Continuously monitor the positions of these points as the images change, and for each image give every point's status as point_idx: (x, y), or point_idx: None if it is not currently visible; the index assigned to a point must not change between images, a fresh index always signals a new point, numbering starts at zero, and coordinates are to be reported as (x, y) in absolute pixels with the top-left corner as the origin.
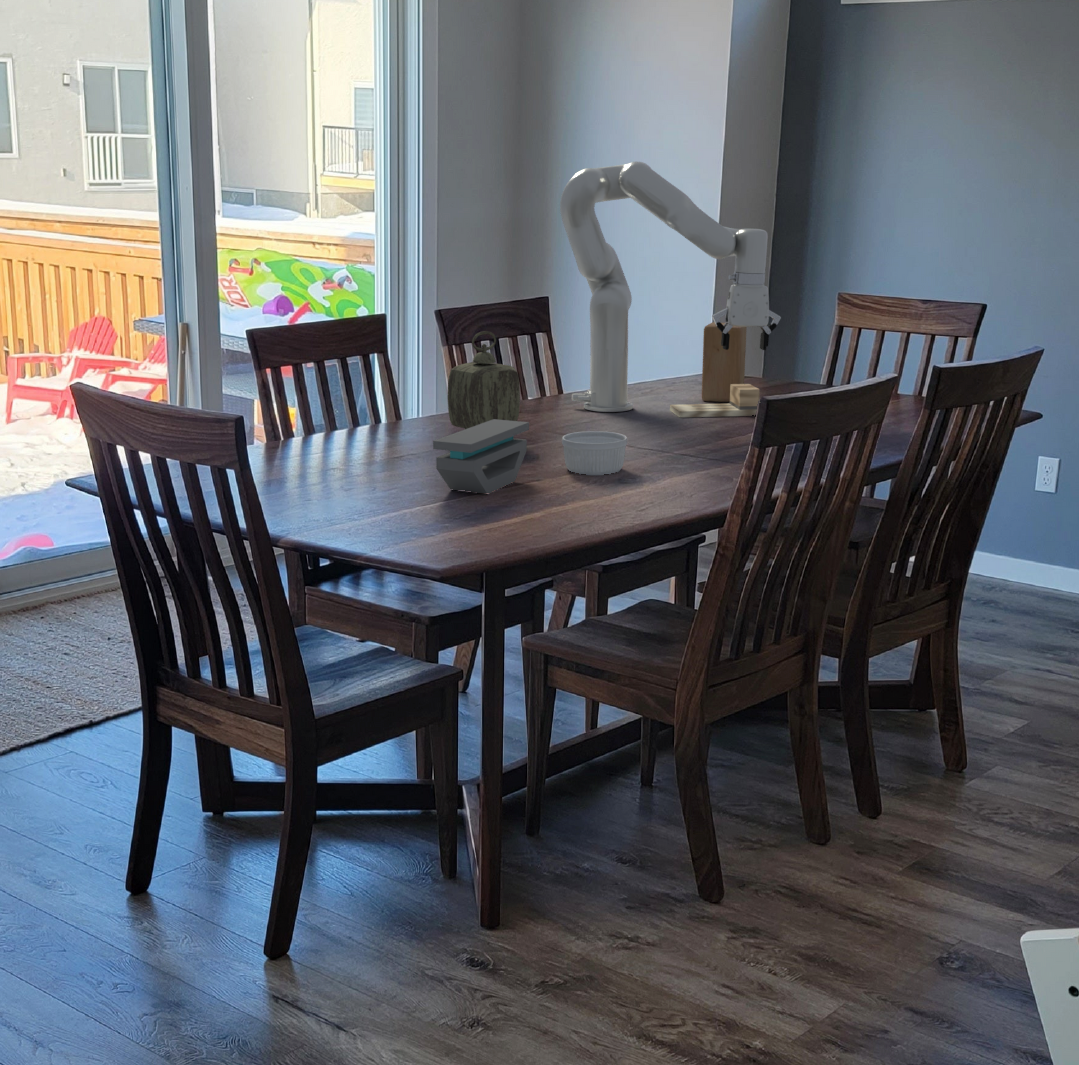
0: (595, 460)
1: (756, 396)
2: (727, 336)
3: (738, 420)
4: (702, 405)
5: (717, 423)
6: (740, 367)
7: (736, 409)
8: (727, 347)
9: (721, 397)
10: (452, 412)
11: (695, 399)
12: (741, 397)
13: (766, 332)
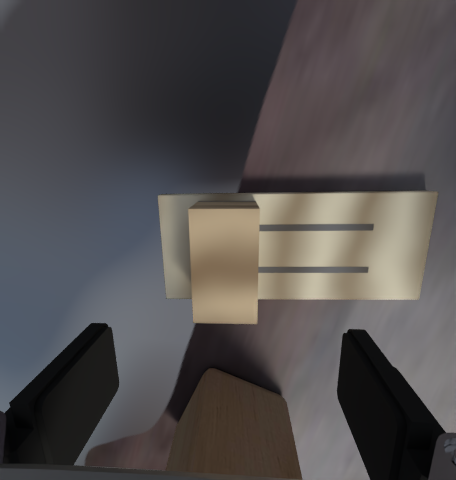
0: None
1: (202, 205)
2: (411, 399)
3: (277, 126)
4: (335, 278)
5: (354, 81)
6: (188, 455)
7: (262, 204)
8: (360, 334)
9: (244, 385)
10: None
11: (290, 420)
12: (252, 205)
13: (1, 427)
